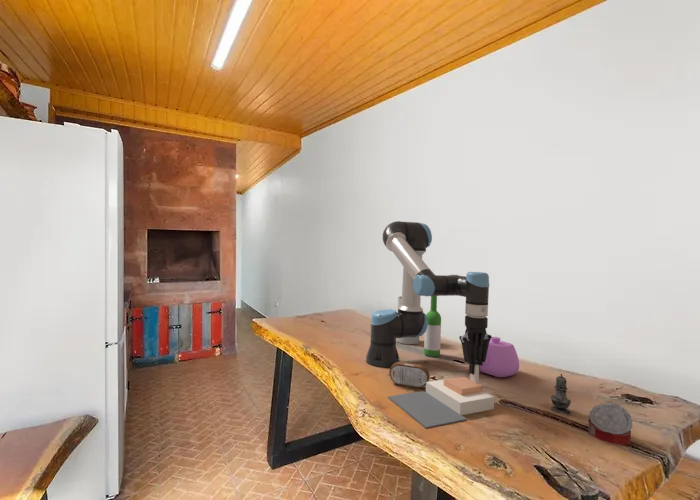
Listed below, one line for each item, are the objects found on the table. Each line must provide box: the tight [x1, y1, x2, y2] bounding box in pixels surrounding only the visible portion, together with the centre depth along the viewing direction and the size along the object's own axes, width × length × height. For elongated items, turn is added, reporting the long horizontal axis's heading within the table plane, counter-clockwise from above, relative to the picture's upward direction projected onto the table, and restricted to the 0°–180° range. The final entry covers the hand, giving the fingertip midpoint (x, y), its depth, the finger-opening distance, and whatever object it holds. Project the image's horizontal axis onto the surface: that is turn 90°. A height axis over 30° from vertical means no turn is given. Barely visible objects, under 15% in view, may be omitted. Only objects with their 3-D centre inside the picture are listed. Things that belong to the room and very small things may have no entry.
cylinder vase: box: [396, 295, 422, 345], centre depth 196 cm, size 12×12×25 cm
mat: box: [387, 390, 468, 429], centre depth 112 cm, size 22×15×1 cm
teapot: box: [480, 336, 520, 378], centre depth 150 cm, size 23×21×15 cm
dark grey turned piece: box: [550, 373, 572, 415], centre depth 115 cm, size 6×6×12 cm
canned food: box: [587, 402, 633, 446], centre depth 99 cm, size 11×10×10 cm
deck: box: [425, 377, 495, 416], centre depth 119 cm, size 18×14×4 cm
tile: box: [443, 376, 483, 395], centre depth 120 cm, size 9×9×2 cm
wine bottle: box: [423, 296, 442, 358], centre depth 172 cm, size 8×8×30 cm
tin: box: [389, 361, 431, 389], centre depth 131 cm, size 15×3×8 cm, turn 71°
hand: (474, 382), depth 122 cm, fingers closed
